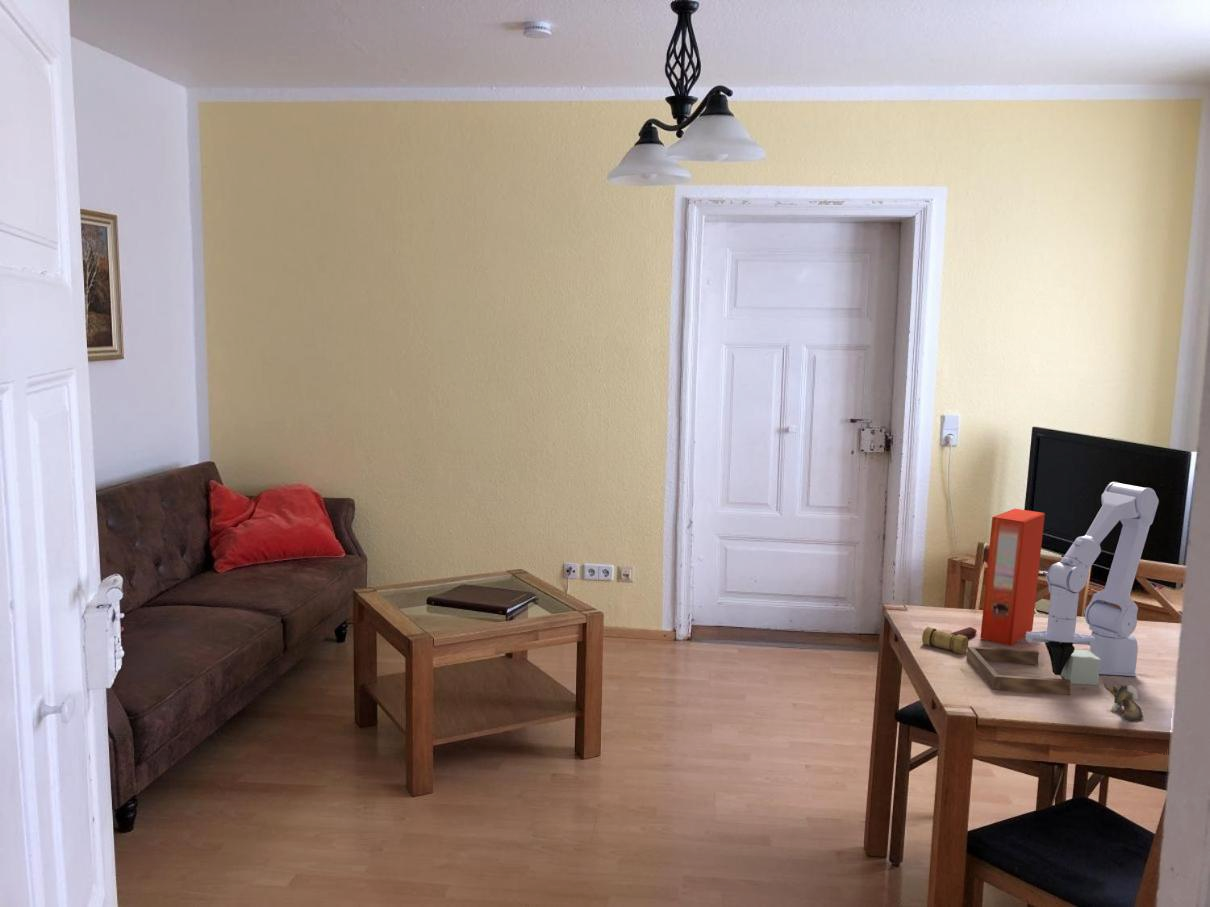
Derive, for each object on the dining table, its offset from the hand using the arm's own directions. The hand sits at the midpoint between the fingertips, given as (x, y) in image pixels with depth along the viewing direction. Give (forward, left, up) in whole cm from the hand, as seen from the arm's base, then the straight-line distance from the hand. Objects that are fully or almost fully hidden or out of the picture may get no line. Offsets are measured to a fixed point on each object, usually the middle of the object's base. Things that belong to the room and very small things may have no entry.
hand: (1056, 673), depth 220 cm
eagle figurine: (-6, +19, -1) cm, 20 cm away
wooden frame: (+8, 0, -1) cm, 8 cm away
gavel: (+15, -24, -2) cm, 28 cm away
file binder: (+1, -31, -1) cm, 31 cm away
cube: (-5, 0, -1) cm, 5 cm away
